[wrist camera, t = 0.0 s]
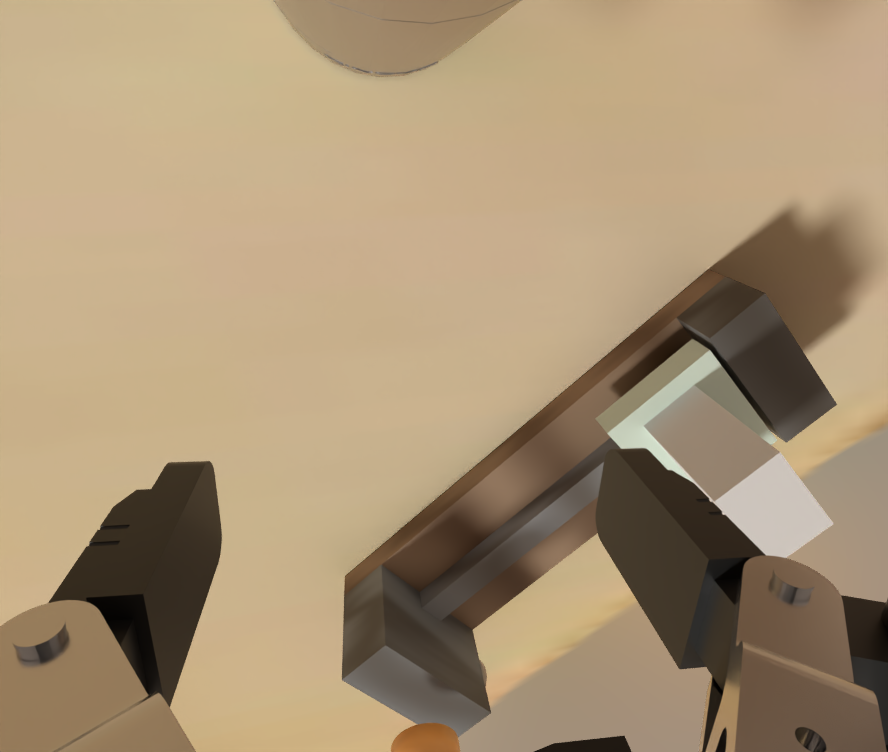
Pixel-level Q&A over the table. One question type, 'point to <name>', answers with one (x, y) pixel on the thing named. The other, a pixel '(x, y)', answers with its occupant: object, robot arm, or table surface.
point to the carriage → (717, 448)
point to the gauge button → (427, 739)
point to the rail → (542, 505)
